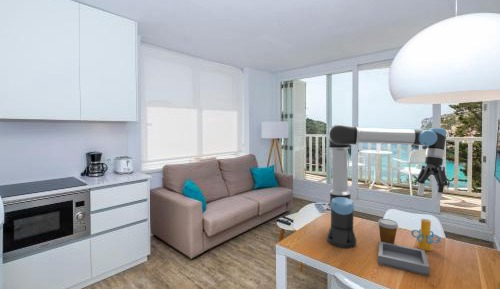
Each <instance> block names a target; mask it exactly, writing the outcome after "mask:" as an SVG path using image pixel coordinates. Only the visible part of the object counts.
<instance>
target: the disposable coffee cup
mask: <svg viewBox="0 0 500 289" xmlns="http://www.w3.org/2000/svg"><path fill="white" fill-rule="evenodd" d="M377 224H378V228H379V229H378V230H379V236H380V242H385V243H390V244H395V243H396V242H395V240H396V236H397V230H398V227H399V224H398V222H397V221H395V220H393V219H391V218H390V219H389V218H379V219H378V222H377Z"/></svg>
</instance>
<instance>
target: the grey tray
mask: <svg viewBox="0 0 500 289" xmlns="http://www.w3.org/2000/svg"><path fill="white" fill-rule="evenodd" d="M378 243H379V246H378V247H379V248H378V259H377V260H378V261H377V263H378V265H382V266H385V267H388V268H389V267H390V268H393V269H398V270H402V271H407V272H410V273H415V274H418V275H422V276H428V277H430V265H429V262H428V261H429V260H428V258H427V254H426V251H425V250H422V249H420V248H416V247H415V248H414V247H410V246H409V247H408V246H406V245H405V246H404V245H400V244H395V243H394V244H390V243H385V242H381V241H379V242H378Z"/></svg>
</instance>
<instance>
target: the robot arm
mask: <svg viewBox="0 0 500 289" xmlns="http://www.w3.org/2000/svg"><path fill="white" fill-rule="evenodd" d="M327 133H328V135H327V136H328V148H329V149H330V150H331V169H332V170H331V174H332V175H331V177H332V179H331V180H332V182H331V183H332V186H331V187H332V189H331V190H330V191H329V197H330V198H329V206H330V227H329V230H328V233H327V236H326V241H327V242H328V243H329V244H331V245H332V246H334V247H337V248H343V249H349V248H351V249H352V248H354V247H355V246H357V237H356V234H355V231H354V213H355V212H354V210H355V204H354V201H353V200H352V199H351V198H352V197H351V196H352V195H351V191H349V190H348V189H349V188H348V185H349V184H348V183H349V182H348V179H349V178H348V150H349V148H350V146H351V145H358V144H382V145H383V144H385V145H387V144H388V145H408V146H409V145H413V146H414V145H415V146H426V150H425V157H424V164H426V165H422V166H421V169H420V172H419V174H418V176H417V177H416V182H417V183H418V185H417V187H418V188H417V195H418V196H422V197H423V196H424V194H425V187H426V186H425V185H426V183H425V182H426V181H427V180H428V178H429V177H430V176H434V179H435V181H436V183H437V184H436V187H435V195H434V199H437V200H442V199H443V198H442V197H443V193H444V187H446V186H447V187H448V185H449V183H448V179H447V174H446V167H445V166H443V163H444V159H443V158H444V154H445V146H446V140H447V130H446V129H445V128H442V127H431V128H429V129H412V128H406V129H405V128H404V129H402V128H401V129H398V128H397V129H395V128H393V129H392V128H391V129H390V128H359V127H358V126H354V125H353V126H351V125H345V124H334V125H333V126H331V127H330V128H329V130H328V132H327Z"/></svg>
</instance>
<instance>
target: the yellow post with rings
mask: <svg viewBox="0 0 500 289" xmlns="http://www.w3.org/2000/svg"><path fill="white" fill-rule="evenodd" d="M431 226H432V220H430V219H427V218H421V219H420V228H419V230H418V229H412V231H411V233H410V234H411V236H412V237H413V238H416V241H417V249H420V250H425V252H430V251H432V250H433V243H434V244H437V243H440V241H441V238H440V236H439V235H437V234H435V233H434V232H433V230H431ZM414 232H417V233H418V234H417V235H415V234H414ZM434 237H436V239H437V240H433V238H434Z"/></svg>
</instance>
